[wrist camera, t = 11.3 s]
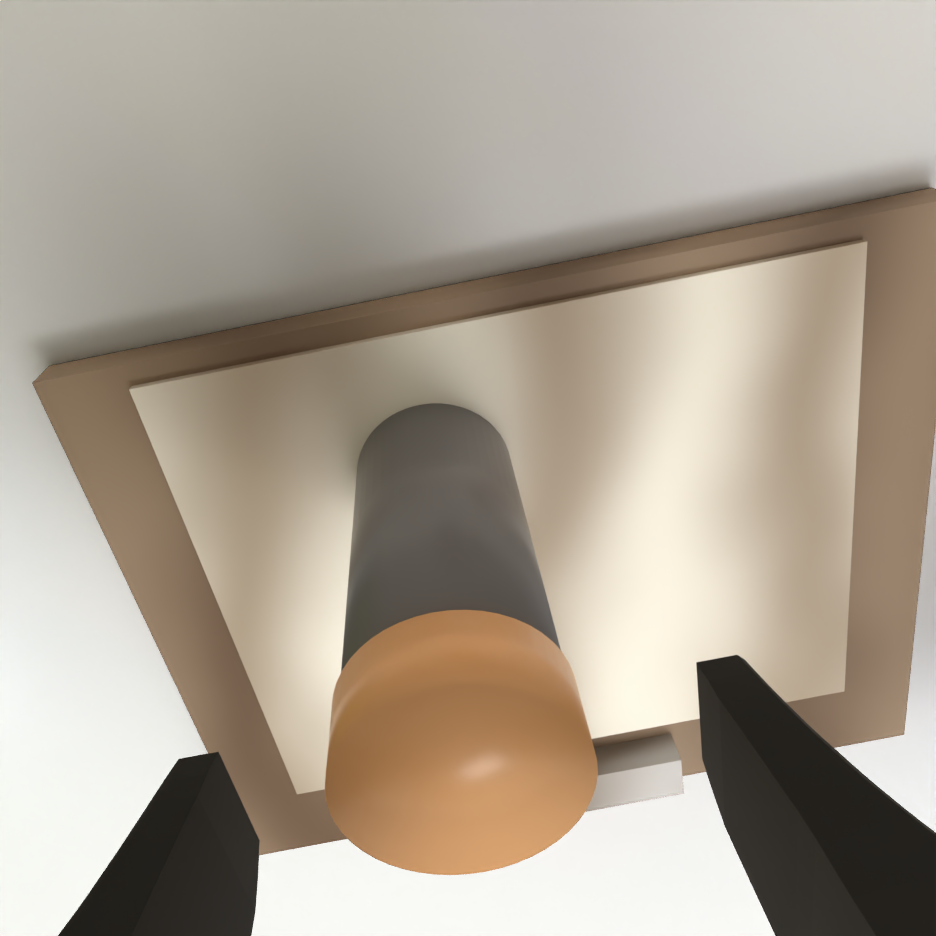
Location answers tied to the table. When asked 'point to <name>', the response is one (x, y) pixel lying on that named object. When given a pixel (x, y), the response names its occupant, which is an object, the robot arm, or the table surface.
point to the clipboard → (550, 485)
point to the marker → (450, 661)
